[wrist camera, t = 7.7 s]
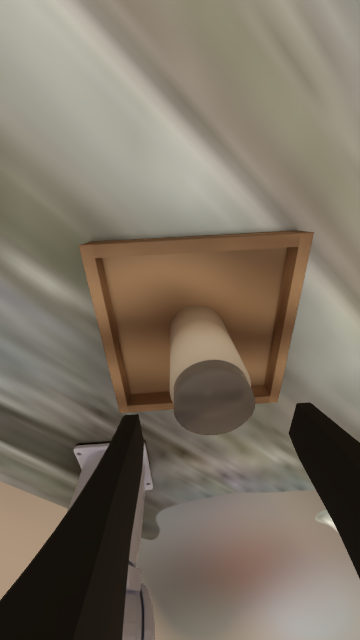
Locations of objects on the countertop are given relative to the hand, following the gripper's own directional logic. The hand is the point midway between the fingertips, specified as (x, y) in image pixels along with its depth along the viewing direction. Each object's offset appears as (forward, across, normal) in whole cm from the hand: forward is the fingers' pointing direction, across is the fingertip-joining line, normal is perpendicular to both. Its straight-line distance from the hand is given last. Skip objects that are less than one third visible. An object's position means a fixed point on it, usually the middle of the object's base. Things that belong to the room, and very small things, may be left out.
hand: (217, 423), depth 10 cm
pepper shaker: (+9, 0, 0) cm, 9 cm away
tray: (+9, 0, 0) cm, 9 cm away
